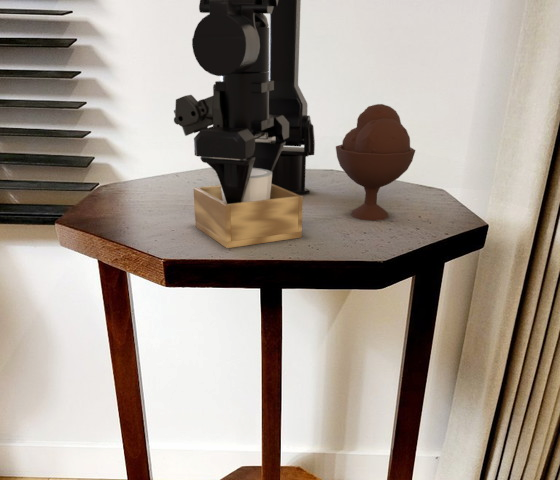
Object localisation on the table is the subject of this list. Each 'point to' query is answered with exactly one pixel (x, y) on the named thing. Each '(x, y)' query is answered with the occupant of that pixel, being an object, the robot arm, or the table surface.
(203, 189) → the box
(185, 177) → the table surface
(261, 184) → the white cup
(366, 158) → the ice cream bowl
